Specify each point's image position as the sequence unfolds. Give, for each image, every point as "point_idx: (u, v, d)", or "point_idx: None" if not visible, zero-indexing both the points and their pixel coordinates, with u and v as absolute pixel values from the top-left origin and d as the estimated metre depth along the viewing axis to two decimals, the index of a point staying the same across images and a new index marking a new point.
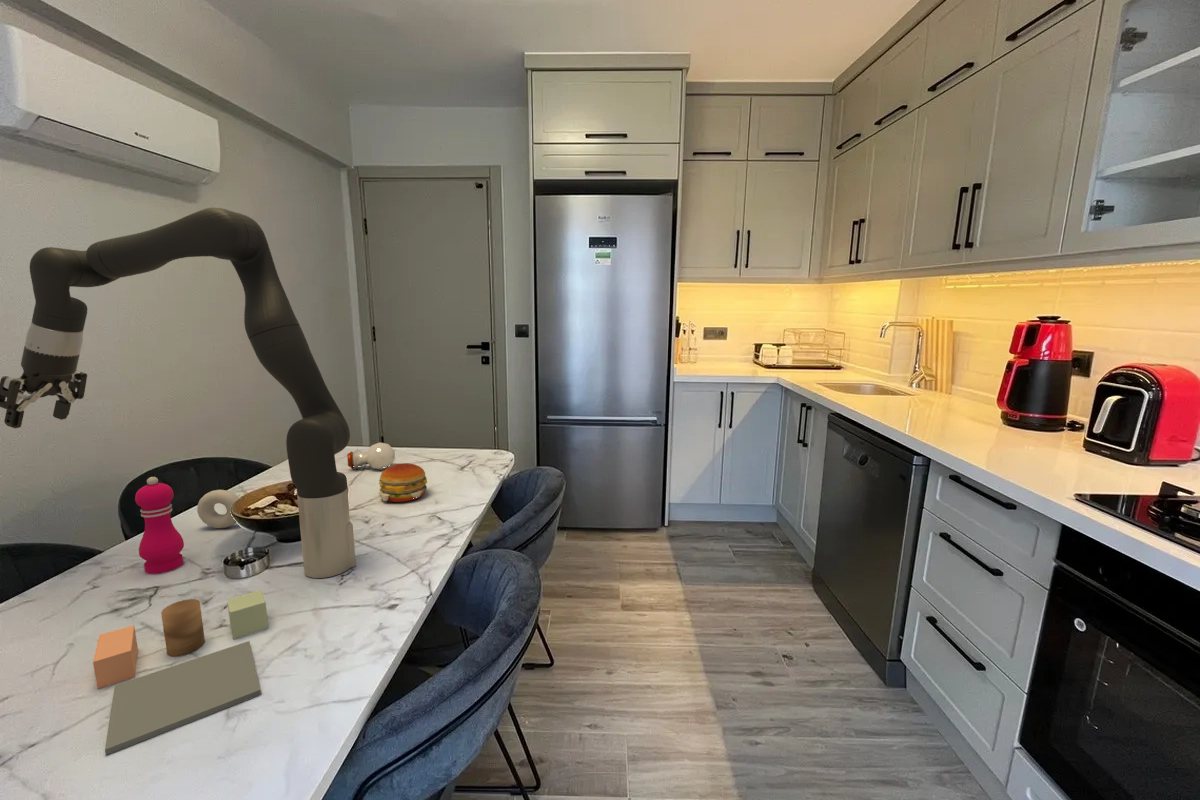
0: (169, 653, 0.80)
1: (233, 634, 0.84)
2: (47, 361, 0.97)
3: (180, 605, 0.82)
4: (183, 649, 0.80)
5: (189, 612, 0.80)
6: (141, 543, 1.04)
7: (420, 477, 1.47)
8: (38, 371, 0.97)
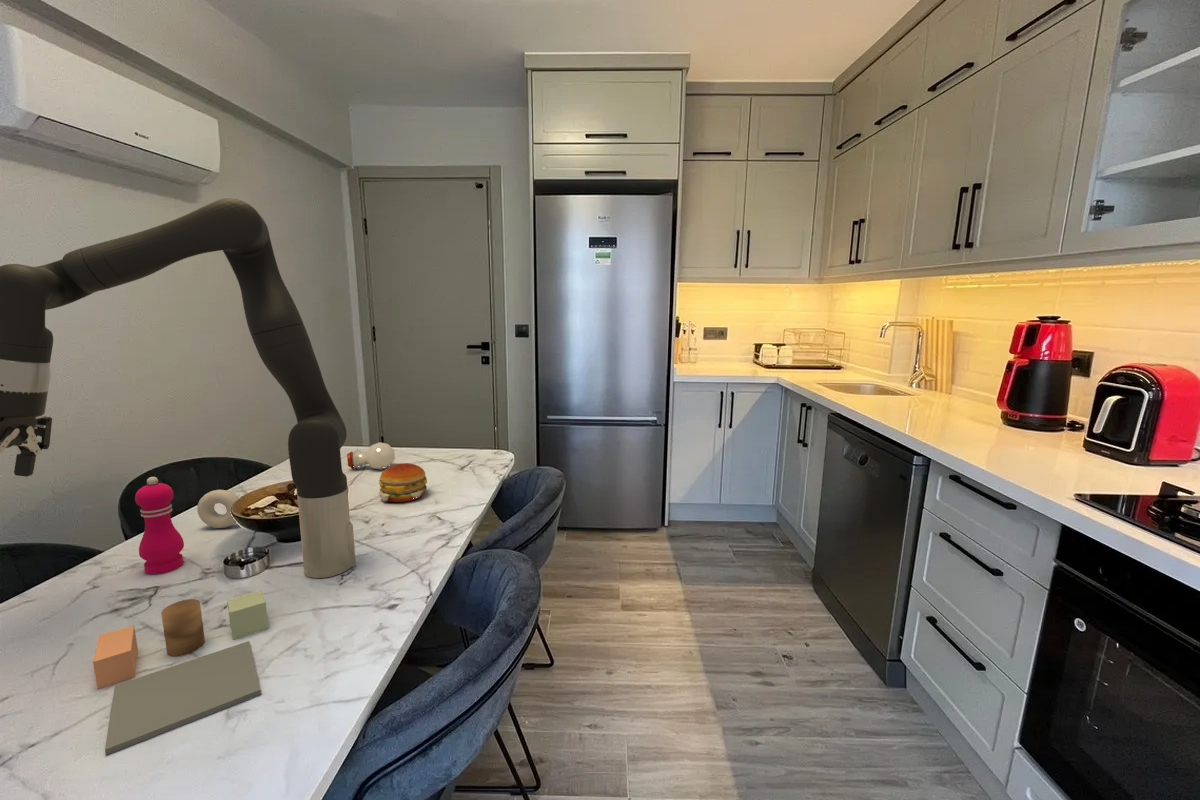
0: (169, 653, 0.80)
1: (233, 634, 0.84)
2: (15, 400, 0.81)
3: (180, 605, 0.82)
4: (183, 649, 0.80)
5: (189, 612, 0.80)
6: (141, 543, 1.04)
7: (420, 477, 1.47)
8: (4, 414, 0.81)
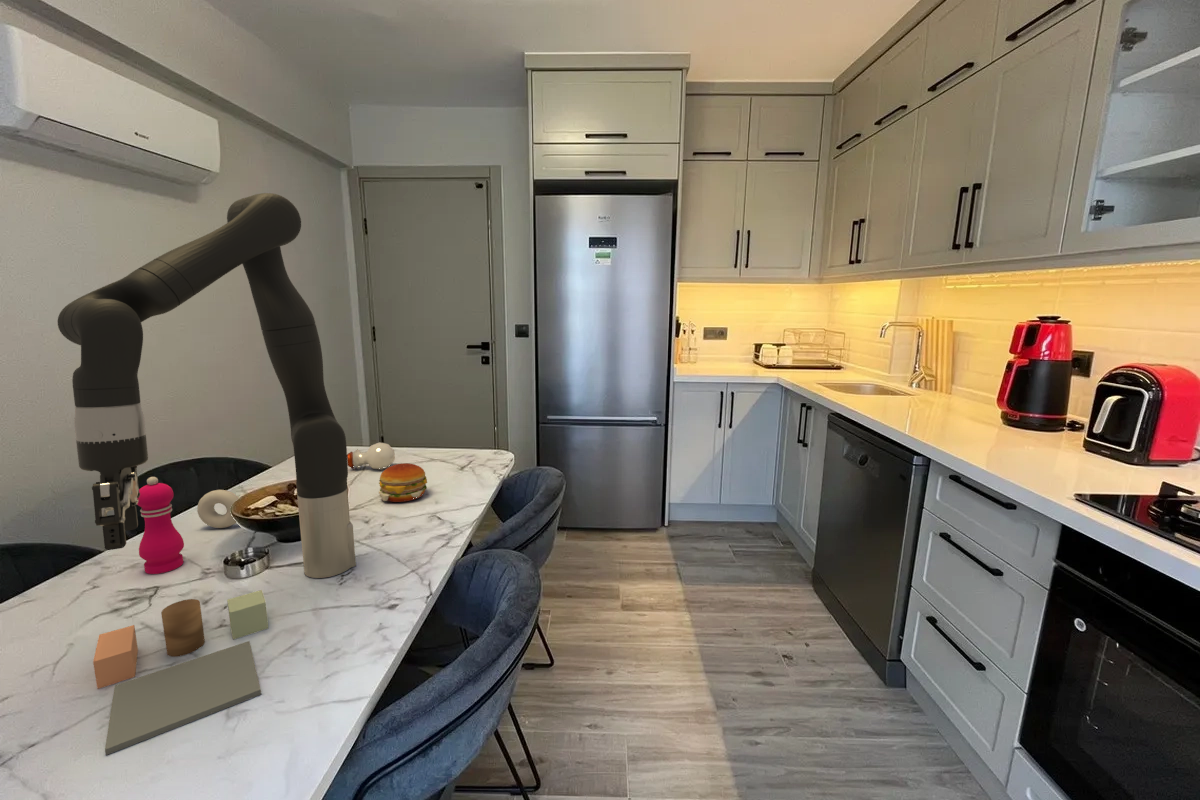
0: (169, 653, 0.80)
1: (233, 634, 0.84)
2: (129, 448, 0.74)
3: (180, 605, 0.82)
4: (183, 649, 0.80)
5: (189, 612, 0.80)
6: (141, 543, 1.04)
7: (420, 477, 1.47)
8: (123, 465, 0.74)
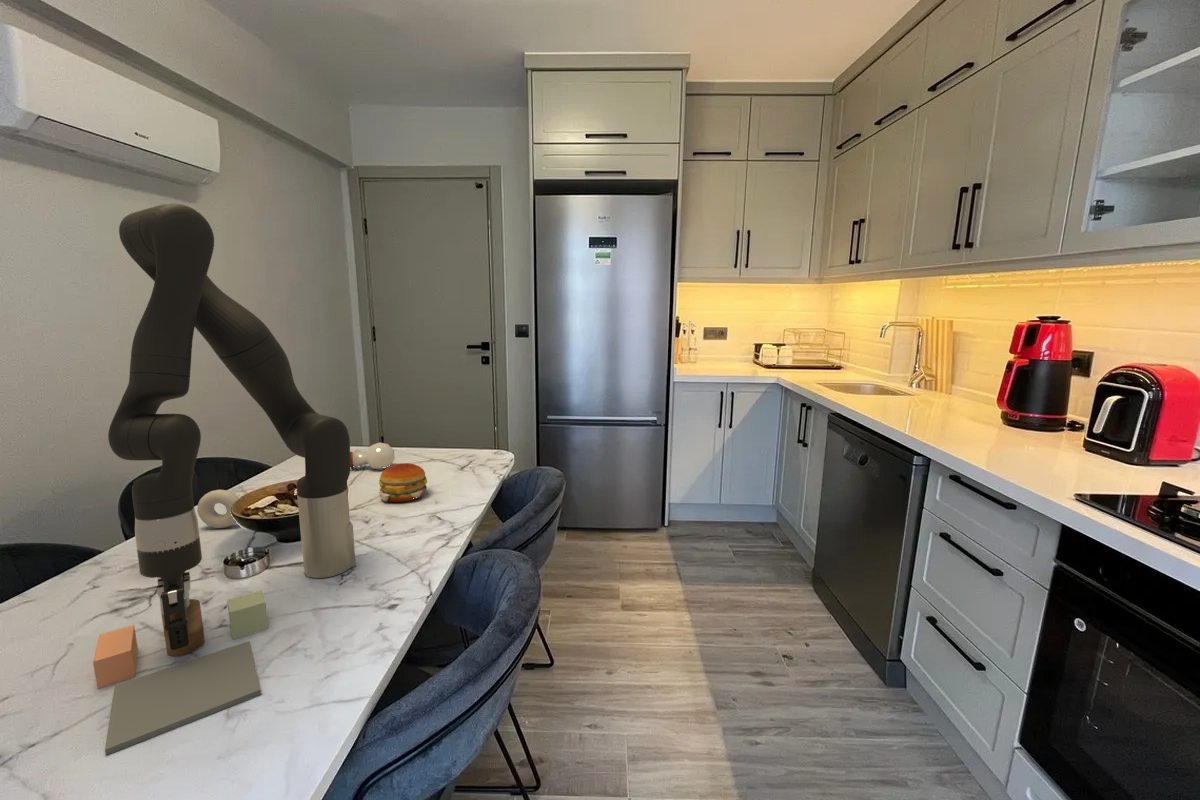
0: (169, 653, 0.80)
1: (233, 634, 0.84)
2: (189, 552, 0.79)
3: None
4: (183, 649, 0.80)
5: (189, 612, 0.80)
6: None
7: (420, 477, 1.47)
8: (184, 569, 0.78)
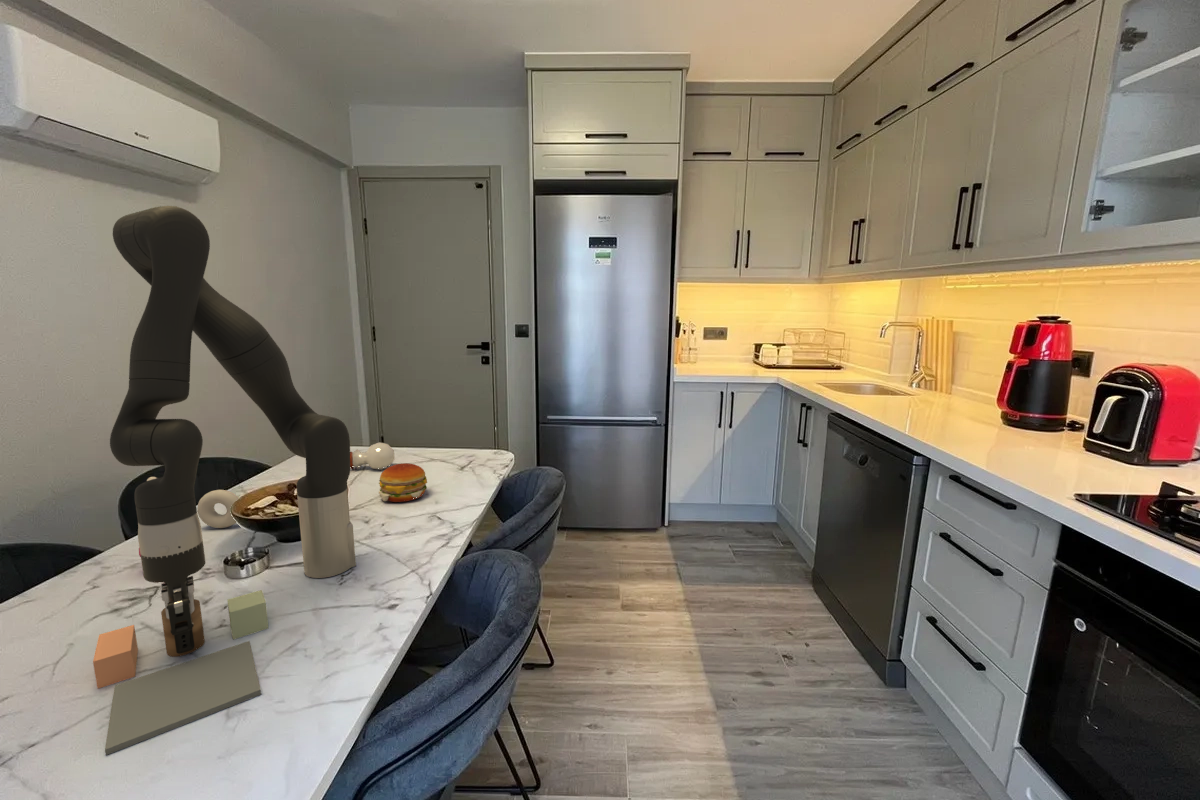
0: (169, 653, 0.80)
1: (233, 634, 0.84)
2: (193, 556, 0.79)
3: None
4: None
5: None
6: None
7: (420, 477, 1.47)
8: (188, 573, 0.78)
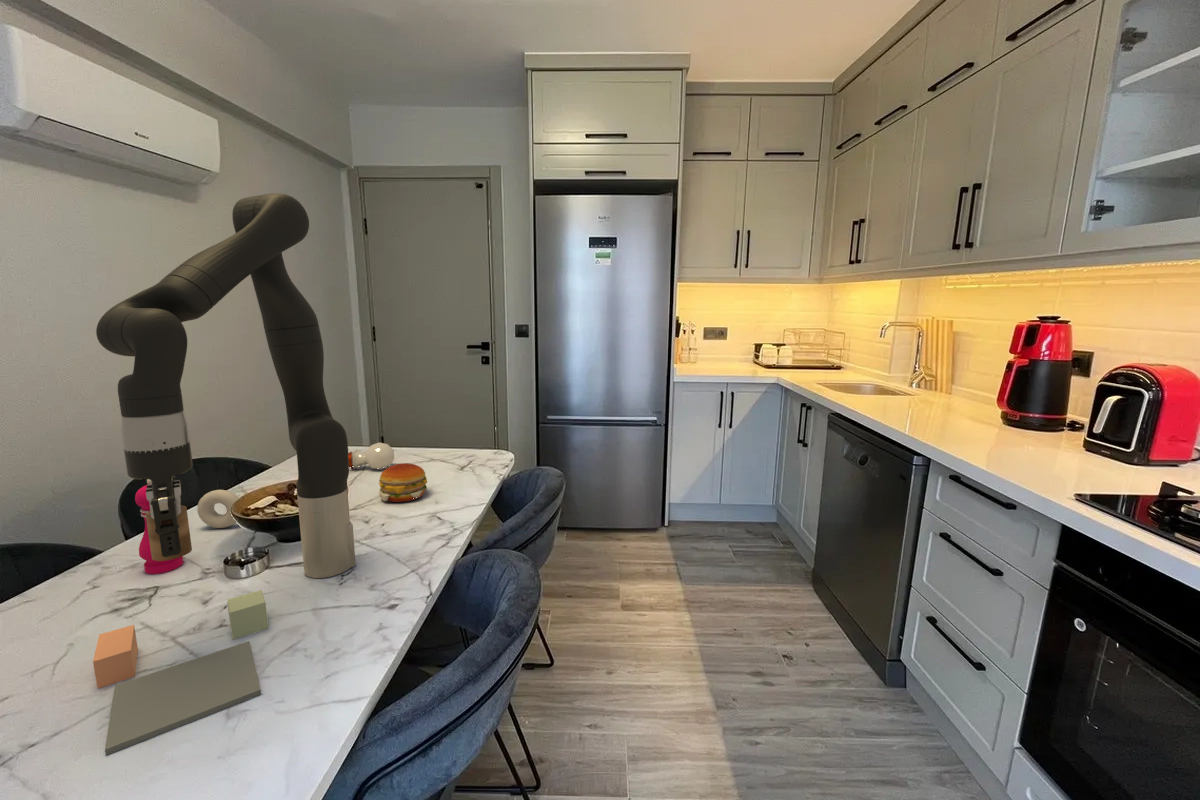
0: (154, 557, 0.77)
1: (233, 634, 0.84)
2: (179, 455, 0.75)
3: None
4: None
5: None
6: (141, 543, 1.04)
7: (420, 477, 1.47)
8: (174, 472, 0.75)
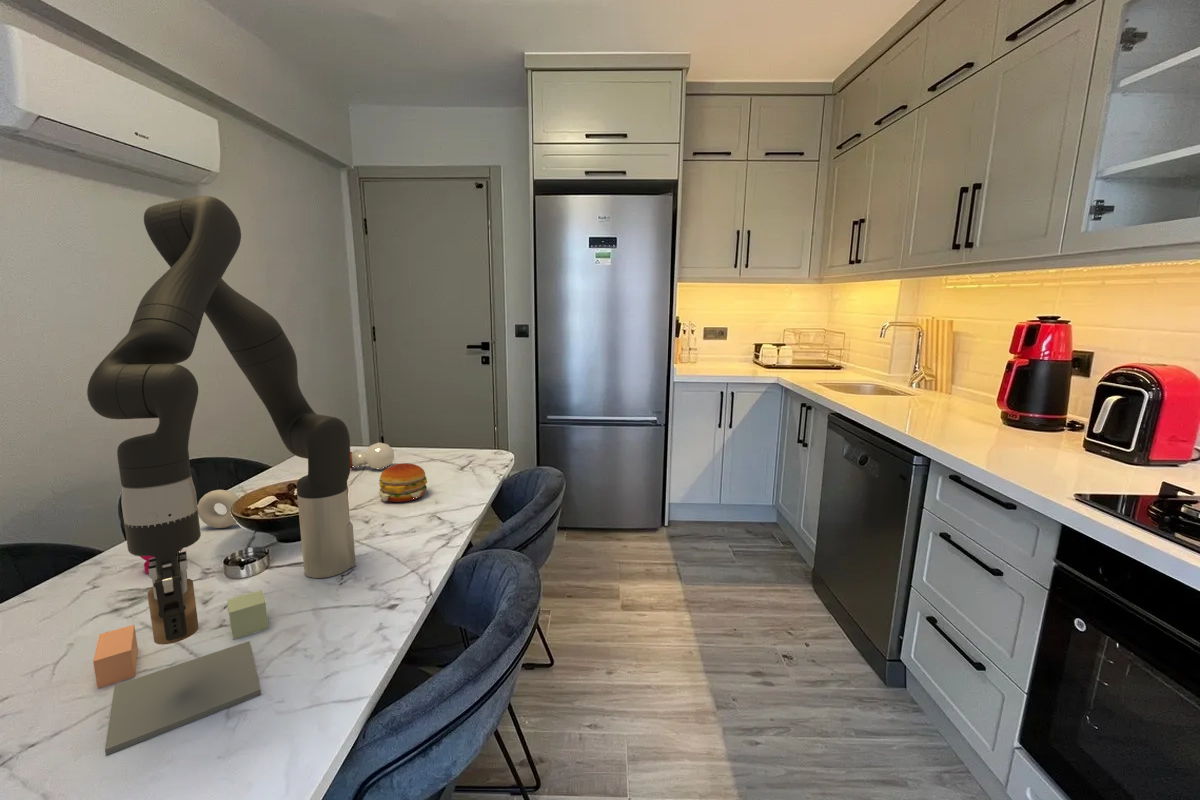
0: (156, 640, 0.68)
1: (233, 634, 0.84)
2: (186, 527, 0.67)
3: None
4: None
5: None
6: None
7: (420, 477, 1.47)
8: (180, 546, 0.67)
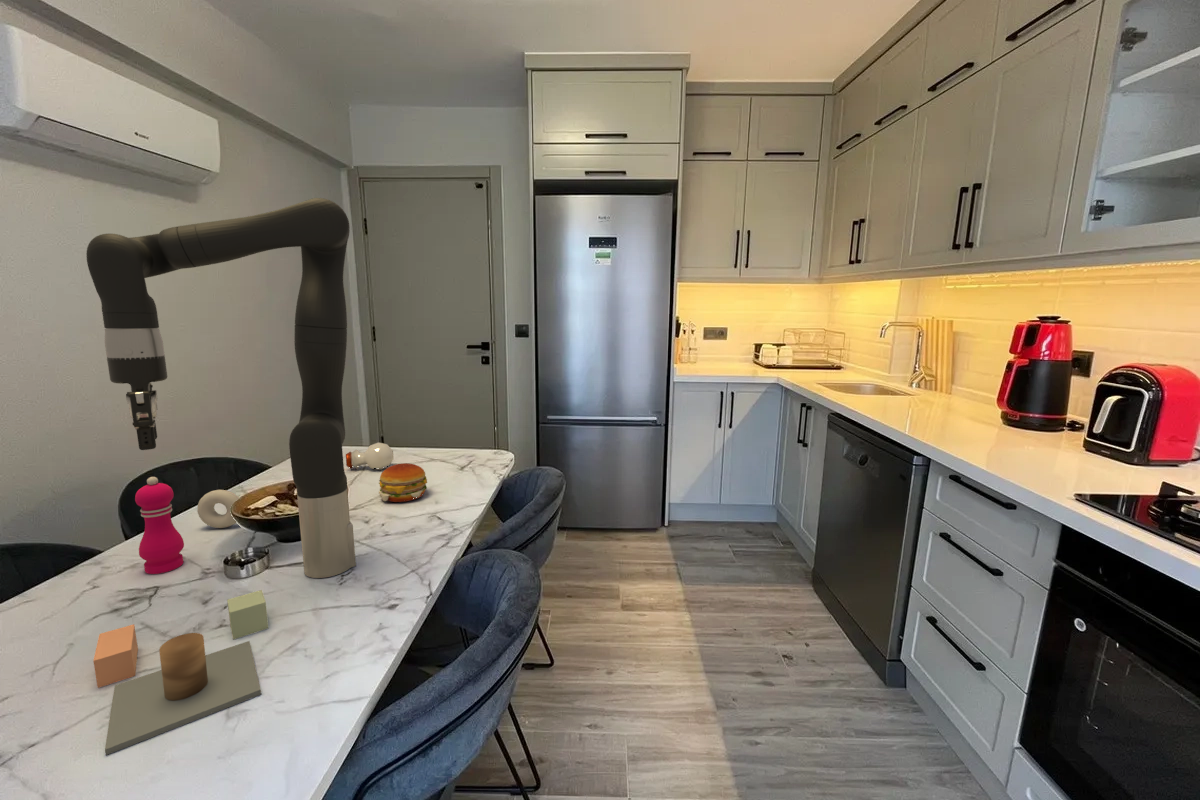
0: (168, 696, 0.70)
1: (233, 634, 0.84)
2: (154, 365, 0.88)
3: (181, 640, 0.71)
4: (184, 692, 0.70)
5: (192, 649, 0.70)
6: (141, 543, 1.04)
7: (420, 477, 1.47)
8: (150, 378, 0.87)
